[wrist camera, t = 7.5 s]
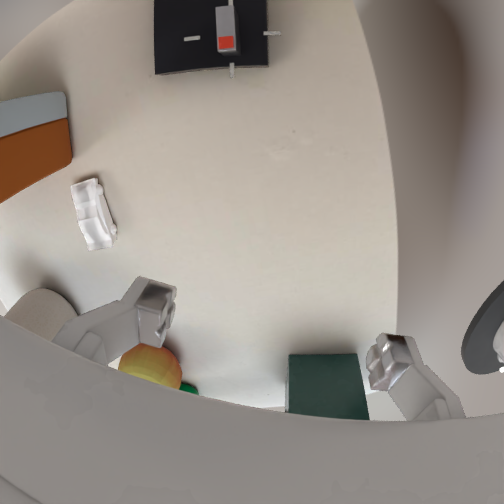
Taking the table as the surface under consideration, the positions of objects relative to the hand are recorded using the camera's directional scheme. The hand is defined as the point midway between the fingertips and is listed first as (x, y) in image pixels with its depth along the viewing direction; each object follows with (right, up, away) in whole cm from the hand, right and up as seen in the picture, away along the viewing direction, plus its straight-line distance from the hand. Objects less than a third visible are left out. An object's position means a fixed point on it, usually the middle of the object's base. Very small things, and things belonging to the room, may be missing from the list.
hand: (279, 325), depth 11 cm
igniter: (+9, -15, +31) cm, 36 cm away
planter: (-33, -7, +31) cm, 45 cm away
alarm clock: (-30, +17, +17) cm, 38 cm away
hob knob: (-3, +21, +9) cm, 23 cm away
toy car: (-19, +8, +21) cm, 29 cm away
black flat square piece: (-5, +24, +10) cm, 26 cm away
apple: (-16, -13, +33) cm, 39 cm away
